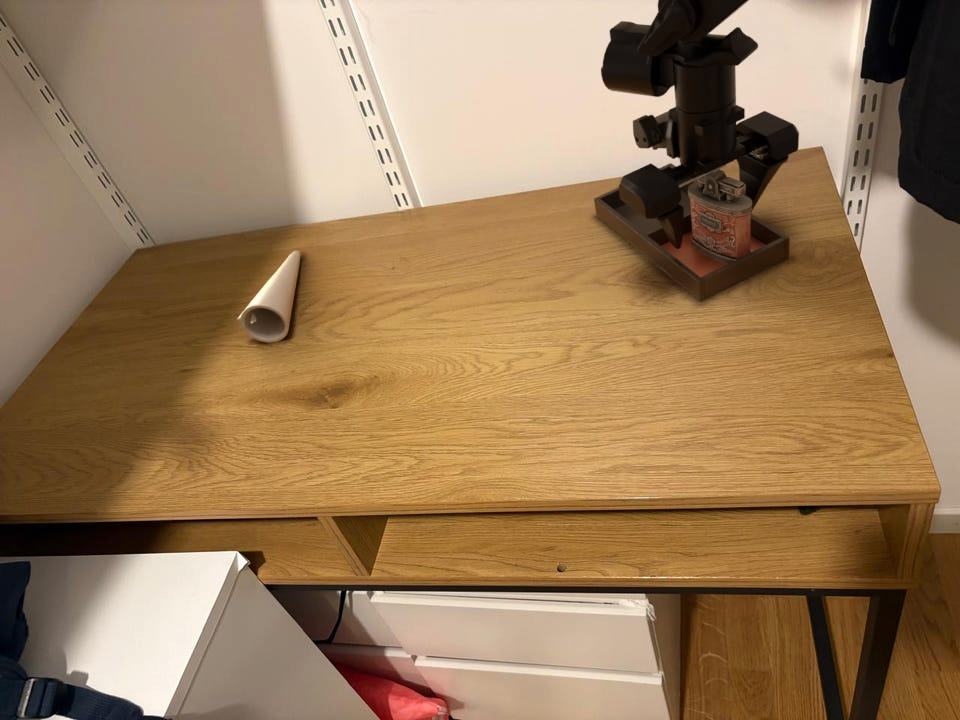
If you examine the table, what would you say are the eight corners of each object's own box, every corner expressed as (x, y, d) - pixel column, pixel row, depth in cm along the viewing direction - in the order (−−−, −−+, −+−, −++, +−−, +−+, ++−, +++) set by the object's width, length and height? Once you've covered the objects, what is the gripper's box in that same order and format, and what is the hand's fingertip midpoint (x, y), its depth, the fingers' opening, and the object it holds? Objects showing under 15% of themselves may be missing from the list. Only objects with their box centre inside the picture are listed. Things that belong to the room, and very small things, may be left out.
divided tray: (672, 182, 99) (670, 162, 97) (789, 258, 83) (789, 237, 81) (596, 217, 98) (593, 198, 96) (700, 302, 81) (699, 282, 79)
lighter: (684, 245, 88) (679, 171, 81) (705, 231, 89) (701, 156, 82) (738, 271, 82) (736, 193, 76) (759, 256, 83) (760, 178, 77)
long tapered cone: (339, 259, 109) (296, 337, 94) (302, 269, 111) (254, 347, 96) (321, 225, 106) (274, 300, 91) (283, 236, 108) (231, 311, 93)
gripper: (733, 44, 81) (735, 171, 91) (583, 111, 78) (603, 233, 88) (805, 72, 72) (799, 207, 83) (641, 147, 70) (655, 277, 80)
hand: (711, 230), depth 84 cm, fingers open, 9 cm apart
